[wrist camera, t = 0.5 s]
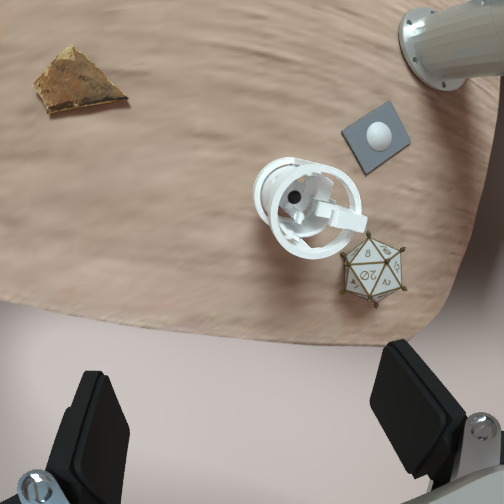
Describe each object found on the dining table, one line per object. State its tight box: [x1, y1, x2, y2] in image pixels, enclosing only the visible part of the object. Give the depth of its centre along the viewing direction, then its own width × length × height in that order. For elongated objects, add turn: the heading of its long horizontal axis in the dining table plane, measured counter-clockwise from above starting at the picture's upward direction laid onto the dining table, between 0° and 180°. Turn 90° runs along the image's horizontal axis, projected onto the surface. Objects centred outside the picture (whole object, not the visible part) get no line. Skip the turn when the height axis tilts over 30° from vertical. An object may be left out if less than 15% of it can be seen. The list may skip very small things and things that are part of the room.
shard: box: [33, 45, 129, 114], centre depth 28 cm, size 11×8×2 cm
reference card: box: [341, 101, 411, 174], centre depth 35 cm, size 8×6×1 cm
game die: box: [340, 231, 408, 309], centre depth 37 cm, size 9×8×10 cm
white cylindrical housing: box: [253, 157, 367, 259], centre depth 29 cm, size 7×7×15 cm
